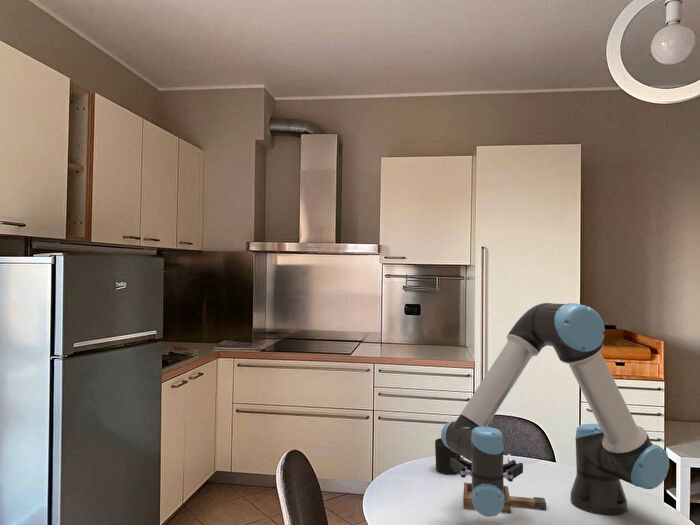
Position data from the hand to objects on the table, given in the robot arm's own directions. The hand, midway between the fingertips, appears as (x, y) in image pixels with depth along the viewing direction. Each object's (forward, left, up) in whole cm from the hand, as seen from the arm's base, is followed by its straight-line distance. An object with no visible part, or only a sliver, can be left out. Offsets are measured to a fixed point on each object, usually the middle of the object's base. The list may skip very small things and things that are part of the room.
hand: (485, 457), depth 162 cm
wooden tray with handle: (-5, +2, -12) cm, 14 cm away
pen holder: (+12, -24, -13) cm, 30 cm away
